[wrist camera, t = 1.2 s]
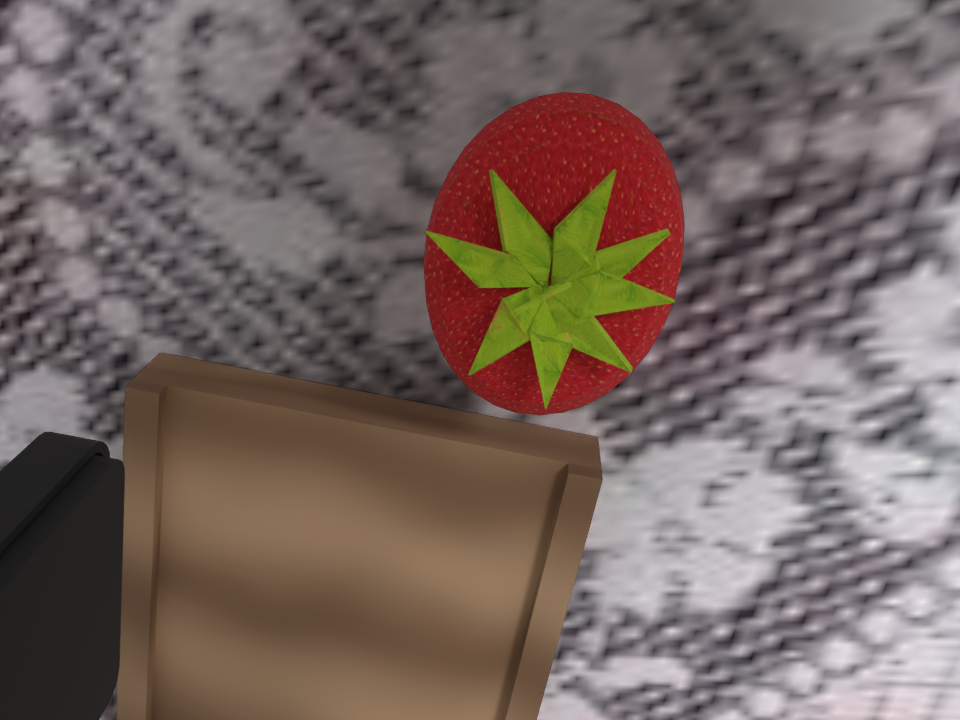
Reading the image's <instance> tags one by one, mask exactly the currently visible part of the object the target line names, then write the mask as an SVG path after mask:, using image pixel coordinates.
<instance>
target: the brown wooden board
mask: <svg viewBox="0 0 960 720" xmlns="http://www.w3.org/2000/svg"><path fill="white" fill-rule="evenodd" d="M123 464H124V468H125V493H124V529H123V564H122V600H121V636H120V666H119V674H118V684H117V720H537V717H538V713H539V709H540V706H541V702H542V698H543V695H544V691H545V687H546V684H547V680H548V677H549V673H550V669H551V666H552V662H553V658H554V655H555V651H556V647H557V644H558V640H559V636H560V633H561V629H562V626H563V622H564V618H565V615H566V611H567V607H568V604H569V600H570V596H571V593H572V589H573V585H574V582H575V578H576V575H577V571H578V567H579V564H580V560H581V556H582V553H583V549H584V545H585V542H586V538H587V534H588V531H589V527H590V524H591V520H592V516H593V513H594V509H595V505H596V502H597V498H598V494H599V491H600V487H601V483H602V470H601V460H600V451H599V441H598V437H595V436H590V435H585V434H580V433H574V432H569V431H564V430H559V429H554V428H549V427H543V426H538V425H533V424H528V423H523V422H518V421H512V420H507V419H502V418H497V417H492V416H487V415H481V414H476V413H471V412H466V411H461V410H456V409H450V408H445V407H440V406H435V405H430V404H425V403H419V402H414V401H409V400H404V399H399V398H394V397H388V396H383V395H378V394H373V393H368V392H363V391H357V390H352V389H347V388H342V387H337V386H331V385H326V384H321V383H316V382H311V381H306V380H300V379H295V378H290V377H285V376H280V375H275V374H269V373H264V372H259V371H254V370H249V369H244V368H238V367H233V366H228V365H223V364H218V363H213V362H207V361H202V360H197V359H192V358H187V357H182V356H176V355H171V354H166V353H161V352H160V353H159V354H158V355H157V356H156V357H155V358H154V359H153V360H152V361H151V362H150V363H149V364H148V365H147V366H146V367H145V368H144V369H143V370H142V371H141V372H140V373H139V374H138V375H137V376H136V377H135V378H134V379H133V380H132V381H131V382H130V383H129V384H128V385H127V386H126V387H125V406H124V446H123Z"/></svg>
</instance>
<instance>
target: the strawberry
mask: <svg viewBox="0 0 960 720" xmlns="http://www.w3.org/2000/svg"><path fill="white" fill-rule="evenodd" d="M684 227H685V223H684V214H683V206H682V197H681V192H680V189H679V185H678V182H677V179H676V175H675V172H674V169H673V166H672V164H671V162H670V160H669V158H668V156H667V155H666V153H665V151H664V149H663V147H662V145H661V144H660V142H659V140H658V139H657V138H656V137H655V136H654V134H653V133H652V132H651V131H650V130H649V129H648V128H647V126H646V125H645V124H644V123H643V122H642V121H641V120H640V119H639V118H638V117H636V116H635V115H633V114H632V113H630V112H629V111H628V110H626V109H625V108H623V107H622V106H620V105H619V104H617V103H614V102H612V101H609V100H606V99H603V98H601V97H598V96H595V95H592V94H581V93H570V92H563V93H557V94H551V95H545V96H539V97H536V98H533V99H531V100H529V101H526V102H524V103H521V104H519V105H517V106H514V107H512V108H510V109H509V110H507V111H506V112H504V113H503V114H502V115H500V116H499V117H497V118H496V119H494V120H493V121H491V122H490V123H489V124H487V125H486V126H485V127H484V128H483V129H482V130H481V131H480V132H479V133H478V134H477V135H476V136H475V137H474V138H473V139H472V141H471V142H470V143H469V144H468V145H467V146H466V147H465V148H464V150H463V151H462V153H461V154H460V156H459V157H458V159H457V161H456V162H455V164H454V165H453V167H452V168H451V170H450V172H449V173H448V175H447V177H446V179H445V181H444V184H443V186H442V188H441V190H440V192H439V194H438V196H437V198H436V200H435V203H434V207H433V210H432V214H431V218H430V222H429V225H428V229H427V231H426V230H423V231H424V232H425V233H426V234H427V235H426V244H425V254H424V277H425V293H426V302H427V308H428V312H429V317H430V321H431V325H432V329H433V333H434V335H435V337H436V340H437V342H438V344H439V347H440V349H441V351H442V354H443V356H444V357H445V359H446V360H447V362H448V363H449V365H450V366H451V368H452V369H453V371H454V372H455V373H456V375H457V376H458V377H459V378H460V379H461V380H462V381H463V382H464V383H465V384H466V385H467V386H468V387H469V388H470V389H471V390H472V391H473V392H474V393H475V394H477V395H479V396H480V397H482V398H483V399H485V400H487V401H488V402H490V403H492V404H493V405H495V406H498V407H501V408H504V409H507V410H510V411H513V412H516V413H523V414H533V415H546V414H554V413H563V412H566V411H569V410H572V409H575V408H578V407H581V406H584V405H587V404H589V403H590V402H592V401H594V400H596V399H597V398H599V397H601V396H603V395H604V394H606V393H608V392H610V391H611V390H612V389H613V388H614V387H615V386H617V385H618V384H619V383H620V382H621V381H623V380H624V379H625V378H626V377H627V376H628V375H630V374H631V372H632V371H633V370H634V369H635V368H636V366H637V365H638V364H639V363H640V362H641V360H642V359H643V358H644V357H645V356H646V355H647V353H648V352H649V350H650V349H651V347H652V345H653V344H654V342H655V340H656V339H657V337H658V335H659V333H660V332H661V330H662V328H663V326H664V324H665V321H666V319H667V316H668V314H669V311H670V309H671V306H672V304H673V303H675V299H674V298H675V293H676V289H677V284H678V280H679V276H680V271H681V265H682V258H683V244H684Z"/></svg>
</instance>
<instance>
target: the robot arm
mask: <svg viewBox="0 0 960 720" xmlns="http://www.w3.org/2000/svg"><path fill="white" fill-rule="evenodd" d="M124 493H125V468H124V464H123V462H122V461H121V460H118V459H113V458H110V453H109V450H108V447H107V445H106V444H105V443H104V442H101V441H96V440H91V439H85V438H80V437H75V436H69V435H64V434H59V433H54V432H44V433H43V434H41V435H39V436H38V437H37V438H36V439H35V440H34V441H32V442H31V443H30V444H29V445H28V446H27V447H26V448H25V449H24V450H23V451H22V452H21V453H20V454H18V455H17V456H16V457H15V458H14V459H13V460H12V461H11V462H10V463H9V464H8V465H7V466H5V467H4V468H3V469H2V470H1V471H0V720H99V718H100V717H101V715H102V713H103V712H104V710H105V708H106V707H107V705H108V703H109V701H110V699H111V697H112V694H113V692H114V689H115V686H116V682H117V678H118V674H119V666H120V636H121V600H122V564H123V529H124Z"/></svg>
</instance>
